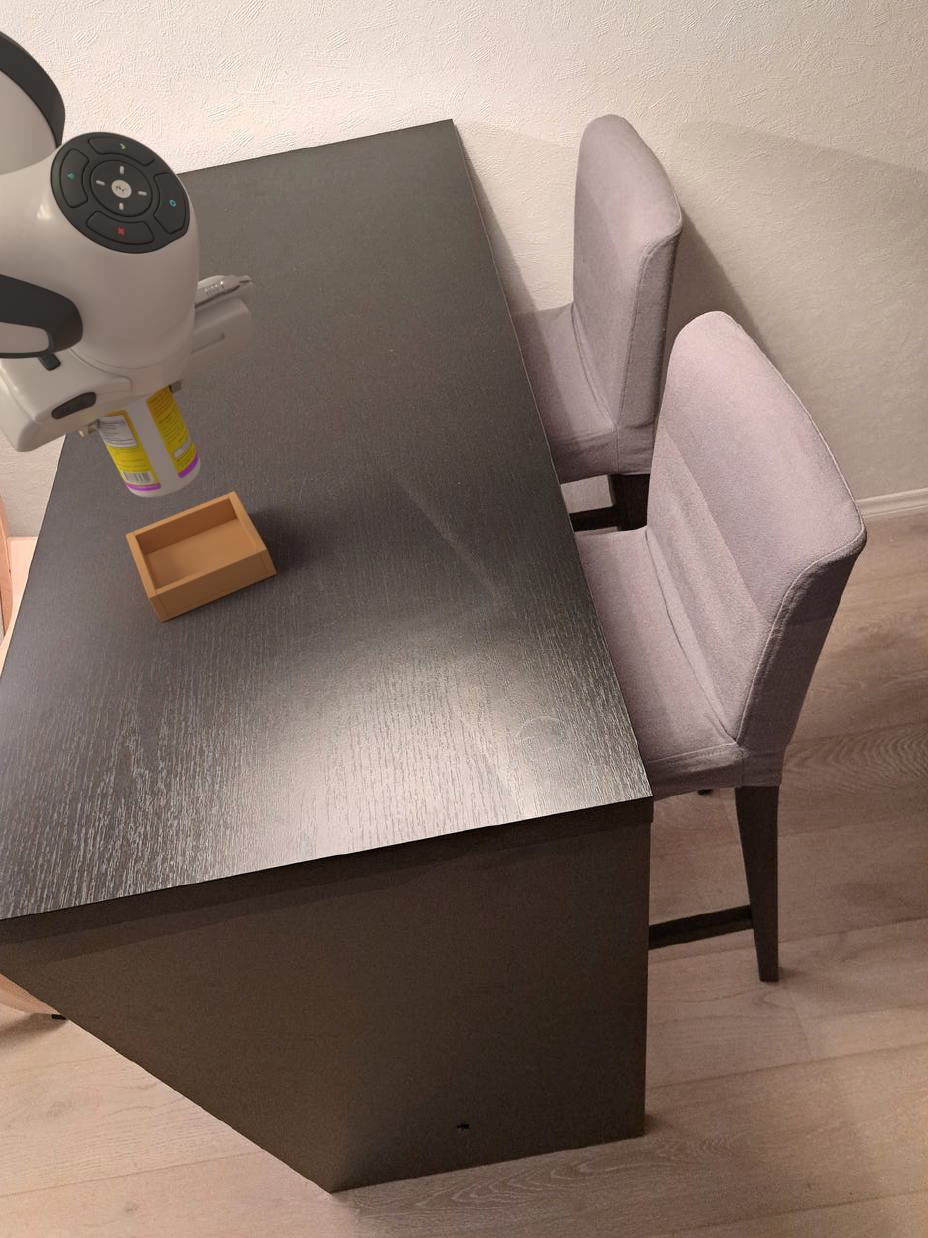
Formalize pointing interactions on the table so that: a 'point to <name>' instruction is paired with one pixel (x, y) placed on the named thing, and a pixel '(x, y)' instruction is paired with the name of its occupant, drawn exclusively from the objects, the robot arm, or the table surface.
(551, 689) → the table surface
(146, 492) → the supplement bottle
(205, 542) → the open wooden box
